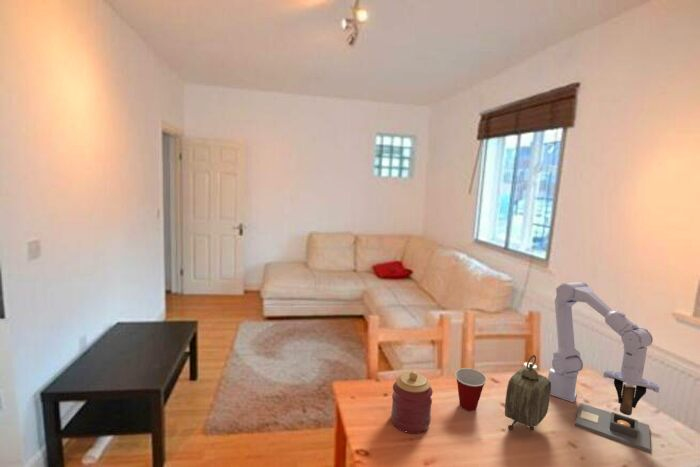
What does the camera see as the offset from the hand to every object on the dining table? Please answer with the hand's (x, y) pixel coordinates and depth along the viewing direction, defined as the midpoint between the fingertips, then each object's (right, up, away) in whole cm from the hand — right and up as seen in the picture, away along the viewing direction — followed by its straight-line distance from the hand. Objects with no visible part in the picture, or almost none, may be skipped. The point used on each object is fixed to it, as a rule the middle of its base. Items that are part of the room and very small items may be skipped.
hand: (626, 404), depth 125 cm
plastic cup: (-48, -6, +12) cm, 50 cm away
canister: (-71, -7, +2) cm, 71 cm away
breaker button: (0, -8, +1) cm, 8 cm away
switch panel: (-2, -9, +4) cm, 10 cm away
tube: (-26, -7, +15) cm, 31 cm away
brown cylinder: (0, -3, 0) cm, 3 cm away
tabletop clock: (-33, -9, +2) cm, 34 cm away
